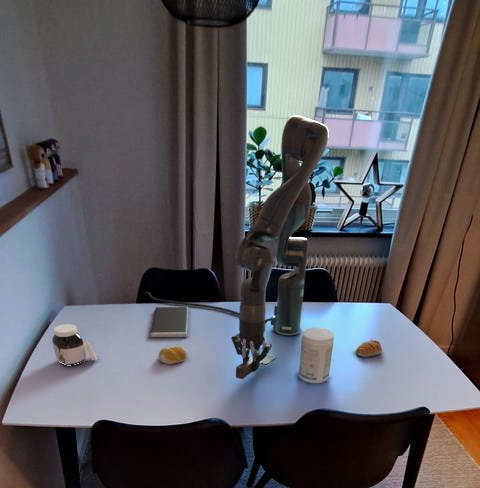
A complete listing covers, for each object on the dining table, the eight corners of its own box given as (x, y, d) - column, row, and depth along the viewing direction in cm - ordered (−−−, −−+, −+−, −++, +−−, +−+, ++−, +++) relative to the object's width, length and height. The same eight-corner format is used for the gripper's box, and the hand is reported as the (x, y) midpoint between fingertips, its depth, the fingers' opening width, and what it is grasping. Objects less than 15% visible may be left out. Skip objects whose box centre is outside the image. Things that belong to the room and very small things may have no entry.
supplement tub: (319, 368, 156) (325, 325, 147) (334, 381, 148) (340, 337, 140) (292, 372, 153) (296, 329, 144) (306, 386, 146) (311, 342, 137)
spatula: (246, 381, 143) (246, 370, 141) (231, 376, 145) (231, 366, 143) (276, 358, 155) (276, 349, 153) (262, 354, 158) (263, 344, 156)
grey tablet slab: (188, 310, 195) (188, 306, 194) (187, 337, 173) (187, 333, 172) (155, 310, 194) (155, 306, 193) (150, 338, 172) (150, 333, 171)
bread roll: (190, 360, 158) (190, 349, 156) (166, 366, 154) (165, 355, 152) (179, 351, 164) (178, 340, 162) (155, 357, 160) (154, 346, 157)
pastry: (365, 360, 161) (367, 350, 159) (350, 353, 165) (351, 343, 163) (382, 353, 166) (385, 342, 164) (367, 346, 170) (369, 336, 168)
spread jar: (53, 360, 156) (45, 327, 149) (83, 350, 163) (77, 317, 156) (73, 373, 150) (65, 338, 143) (103, 361, 156) (98, 328, 150)
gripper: (279, 317, 138) (275, 371, 148) (239, 307, 144) (238, 358, 154) (266, 326, 133) (263, 380, 143) (225, 314, 139) (225, 367, 149)
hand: (250, 369), depth 148 cm, fingers closed on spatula, 2 cm apart
